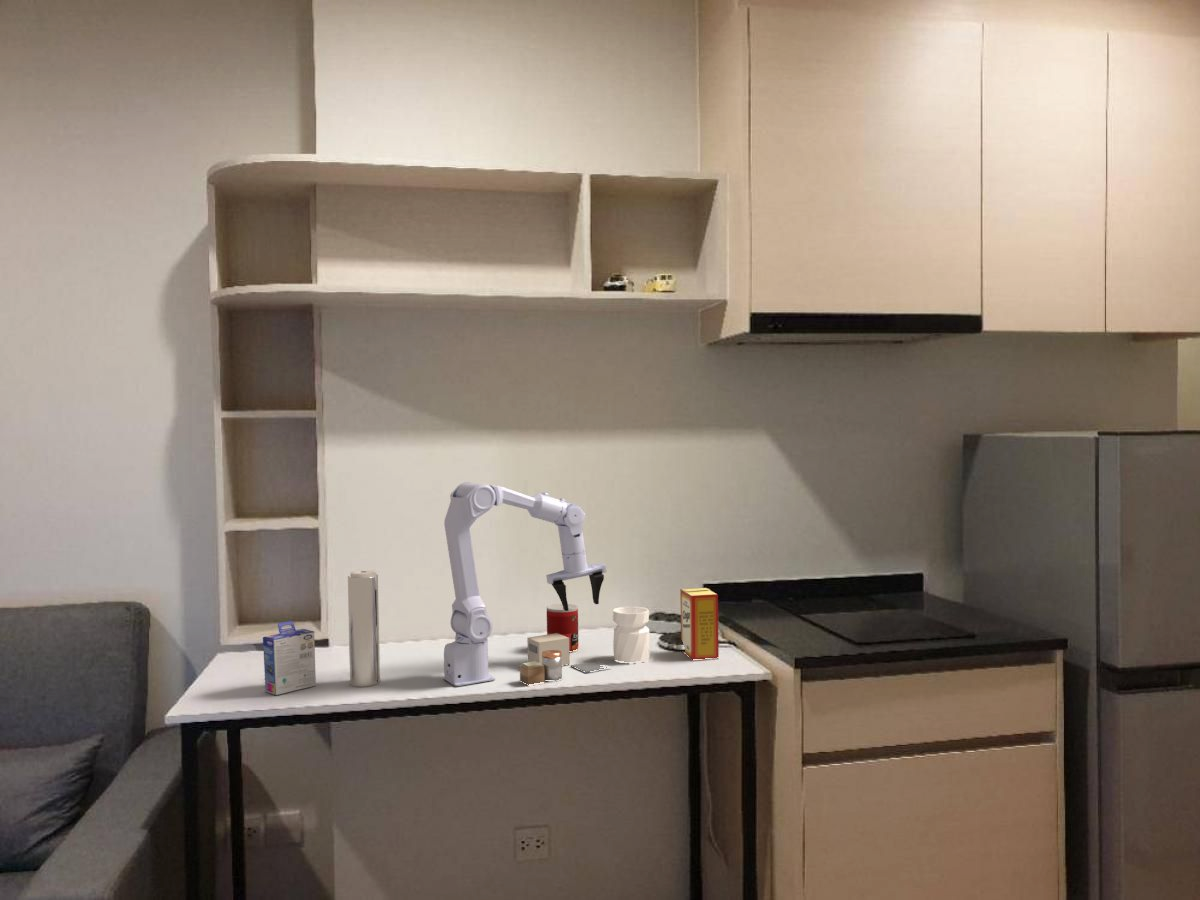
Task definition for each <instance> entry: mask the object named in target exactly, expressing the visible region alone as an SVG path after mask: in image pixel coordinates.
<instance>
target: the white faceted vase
mask: <svg viewBox="0 0 1200 900" xmlns="http://www.w3.org/2000/svg"><path fill="white" fill-rule="evenodd" d="M649 615H650V610H649V609H648V607H647V608H646V607H641V606H621V607H616V608H613V610H612V621H613V622H614V623H615V624H616V625H617V626H616V627H614V628H613V641H612V642H613V649H612V650H613V660H614V659H615V660H618V661H624V662H636V661H644V660H647V659H648V658H649V657H650V628H649V627H647V626H646V624H647V623H648V622H650V621H649V618H650V616H649ZM650 658H651V657H650ZM650 658H649V659H650ZM615 660H614V661H615Z"/></svg>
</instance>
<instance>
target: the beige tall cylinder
mask: <svg viewBox="0 0 1200 900" xmlns="http://www.w3.org/2000/svg"><path fill="white" fill-rule="evenodd" d="M377 573H378V572H377V570H374V569H359V570H353V571H351V572H350V575H349V576H347V597H348V598H347V599H348V602H347V604H348V610H347V611H348V612H347V613H348V646H349V649H348V650H349V655H348V656H349V657H348V658H349V684H350V686H352V687H355V688H365V687H367V686H368V687H373V686H376V685H378V684H379V683H380V682H381V672H380V671H381V667H380V666H381V665H380V664H381V661H380V660H381V659H380V658H381V657H380V656H381V655H380V626H379V625H380V616H379V575H378V574H377ZM372 685H373V686H372ZM368 687H367V688H368Z"/></svg>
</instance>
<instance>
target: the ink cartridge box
mask: <svg viewBox="0 0 1200 900" xmlns="http://www.w3.org/2000/svg"><path fill="white" fill-rule="evenodd" d="M284 626H291V627H287V628H283V627H284ZM277 628H278V633H276V634H271V635H265V636H263V637H262V648H263V649H262V651H263V665H264V667H263V668H264V671H263V672H264V686H265V687H264V689H265V690H264V691H266V693H268V694H270V693H271V694H270V695H273V696H279V695H282V694H287V693H290V692H291V693H292V692H295V691H299V690H304V689H307V688H311V687H315V686H317V681H316V652H315V651H316V649H315V631H314V630H309V629H306V628H300V629H296V627H295V624H294V621H293V620H290V621H285V622H284V621H282V622H279V623H277Z"/></svg>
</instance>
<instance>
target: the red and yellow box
mask: <svg viewBox="0 0 1200 900" xmlns="http://www.w3.org/2000/svg"><path fill="white" fill-rule="evenodd" d="M679 592H680V594H679V595H680V641H681V640H682V642H683V644H684V647H685V653H686V654H687V655H688V656H689V657H690V658H691V659H692V660H693V659H705V658H717V657H719V654H720V653H719V652H720V651H719V650H720V649H719V599H718V597H719V594H717V593H715V592H714V591H712V590H711V589H710V588H707V587H697V588H695V587H694V588H693V587H692V588H680V591H679ZM689 657H688V658H689ZM690 658H689V659H690ZM691 659H690V660H691ZM692 660H691V661H692Z"/></svg>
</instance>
